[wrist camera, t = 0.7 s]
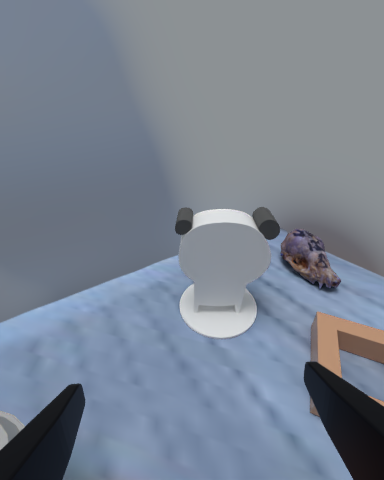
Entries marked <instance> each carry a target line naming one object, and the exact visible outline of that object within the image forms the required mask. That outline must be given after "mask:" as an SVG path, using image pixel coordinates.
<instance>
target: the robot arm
mask: <svg viewBox="0 0 384 480" xmlns="http://www.w3.org/2000/svg"><path fill="white" fill-rule="evenodd" d="M304 382H305V385H306V387H307V390H308V392H309V394H310V396H311V399H312V401H313V403H314V405H315V407H316V410H317V412H318V414H319V416H320V418H321V421H322V423H323V425H324V427H325V429H326V431H327V433H328V435H329V436H330V438H331V440H332V442H333V444H334V445H335V447H336V449H337V451H338V453H339V454H340V456H341V458H342V460H343V462H344V463H345V465H346V467H347V469H348V471H349V472H350V474H351V476H352V478H353V480H384V406H383V405H381V404H380V403H378V402H377V401H375V400H374V399H372V398H371V397H369V396H368V395H366V394H365V393H363V392H362V391H360V390H359V389H357V388H356V387H354V386H353V385H351V384H350V383H348V382H347V381H345V380H344V379H342V378H341V377H339V376H338V375H336V374H335V373H333V372H332V371H330V370H329V369H327V368H326V367H324V366H323V365H321V364H320V363H318V362H316V361H312V362H306V363H305V370H304ZM84 407H85V397H84V392H83V388H82V385H81V384H71V385H69V386H67V387H66V388H65V389H64V390H63V391H62V392H61V393H60V394H59V395H58V396H57V397H56V398H55V399H54V400H53V401H52V402H51V403H50V404H48V405H47V406H46V407H45V408H44V409H43V410H42V411H41V412H40V413H39V414H38V415H37V416H36V417H35V418H34V419H33V420H32V421H31V422H29V423H28V424H27V425H26V426H25V427H24V428H23V429H22V430H21V431H20V432H19V433H18V434H17V435H16V436H15V437H14V438H13V439H12V440H10V441H9V442H8V443H7V444H6V445H5V446H4V447H3V448H2V449H1V450H0V480H62V479H63V476H64V473H65V471H66V468H67V465H68V462H69V459H70V457H71V453H72V450H73V447H74V443H75V439H76V436H77V432H78V428H79V425H80V421H81V418H82V414H83V410H84Z"/></svg>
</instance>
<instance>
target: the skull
mask: <svg viewBox="0 0 384 480" xmlns="http://www.w3.org/2000/svg"><path fill="white" fill-rule="evenodd" d="M281 256H282V257H283V259H284V260H286V261H288V262H289V263H290V265H291V266H292V267H293V268H294V270H295V271H297V272H299V273H300V275H301V276H303V277H304V279H307V280H309V281H310V282H312V283H313V284H314V282H315V281H318V282H319V289H320V288H321V287H322V285H323V283H325V284H326V287H329V288H331V286H334V288H335V287H337V286H338V285H339V284H340V282H341V280H340V278H339V277H338V276H337V275H336V273H335V272H334V271H333V270H332V269H331V267H330V265H329V261H328V259H327V256H326V253H325V250H324V244H323V242H322V240H321V239H320V238H319V237H317V236H314V235H313V234H311V233H309V232H307V231H306V230H304V229H294V230H293V231H292V232H290V233H289V234H287V236H286V238H285V240H284V241H283V242H282V243H281ZM293 260H295V261H296V263H297V264H296V263H294V262H293Z"/></svg>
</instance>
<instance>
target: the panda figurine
mask: <svg viewBox="0 0 384 480" xmlns="http://www.w3.org/2000/svg"><path fill="white" fill-rule="evenodd" d="M175 231H176V233H178V234H180V235H182V236H181V242H180V249H179V264H180V267H181V269H182V271H183V272H184V274H185V275H186V276H187V277H188V278H190V279H191V280H193V281H194V284H192V285H191V286H189V287H188V288H187V289H186V290H185V291H184V293H183V295H182V297H181V300H180V313H181V316H182V318H183V320H184V322H185V323H186V324H187V325H188V326H189V327H190V328H191V329H192V330H193V331H195V332H196V333H198V334H200V335H202V336H205V337H208V338H212V339H230V338H234V337H237V336H239V335H241V334H243V333H245V332H246V331H247V330H248V329H249V328H250V327H251V326H252V325H253V323H254V321H255V318H256V314H257V306H256V302H255V300H254V298H253V296H252V295H251V293H250V292H249V291H248V290H247V289H246V285H247V284H249V283H251V282H253V281H254V280H256V279H257V278H259V277H260V276H261V275H262V274H263V273H264V272H265V271H266V270H267V269H268V267H269V265H270V262H271V251H270V247H269V245H268V242H267V240H266V239H268V240H271V239H274V238H276V237H277V236H278V235H279V233H280V227H279V224H278V223H277V221H276V220H275V218H274V217H273V215H272V214H271V212H270V211H269V210H268V209H267V208H264V207H260V208H258V209H256V210H255V211H254V212H253V218H252V217H251V216H250V215H248V214H246V213H244V212H241V211H237V210H230V209H214V210H207V211H203V212H200V213H197V214H195V215H194V216H193V211H192V210H191V209H190V208H181V209H180V210H179V212H178V217H177V221H176V226H175Z"/></svg>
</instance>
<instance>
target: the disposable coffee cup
mask: <svg viewBox="0 0 384 480" xmlns="http://www.w3.org/2000/svg"><path fill="white" fill-rule="evenodd" d="M24 427H25V426H24V425H23V424H22V423H21V422H20V421H19V420H18V419H17V418H16V417H15V416H14V415H11V414H8V413H5V412H2V411H0V450H1V449H2V448H3V447H4V446H5V445H6V444H7V443H8V442H9V441H10V440H12V439H13V438H14V437H15V436H16V435H17V434H18V433H19V432H20V431H21V430H22V429H23V428H24Z"/></svg>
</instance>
